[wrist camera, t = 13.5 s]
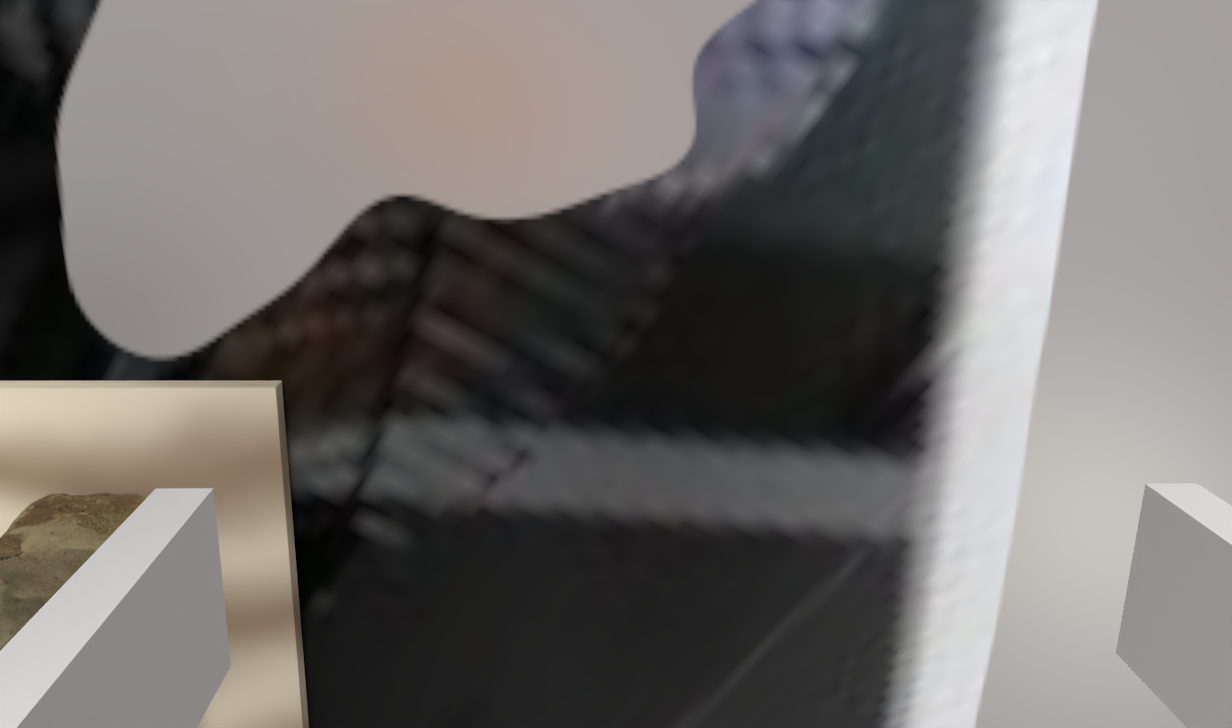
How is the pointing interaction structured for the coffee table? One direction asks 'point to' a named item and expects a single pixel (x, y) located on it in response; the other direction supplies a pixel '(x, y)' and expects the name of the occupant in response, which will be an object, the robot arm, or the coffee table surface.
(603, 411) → the coffee table surface
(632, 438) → the coffee table surface
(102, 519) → the stone block
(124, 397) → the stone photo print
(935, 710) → the coffee table surface
